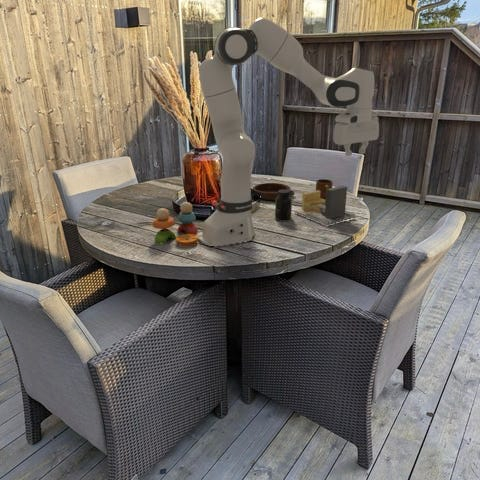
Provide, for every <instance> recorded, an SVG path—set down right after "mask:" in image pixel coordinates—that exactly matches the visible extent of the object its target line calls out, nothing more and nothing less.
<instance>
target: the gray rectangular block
mask: <svg viewBox="0 0 480 480" xmlns="http://www.w3.org/2000/svg"><path fill="white" fill-rule="evenodd" d="M347 193H348V186H346V185H340V186H335V187H332V188H330V189H327V190H326V203H325V204H324V205H325V210H322V211H321V214H322V215H324V216H325V217H327V218H330V219H331V218H335V217H339V216H343V215H345V210H346V205H347V204H346V203H347V196H348V195H347Z"/></svg>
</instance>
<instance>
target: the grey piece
mask: <svg viewBox="0 0 480 480" xmlns="http://www.w3.org/2000/svg"><path fill="white" fill-rule="evenodd" d="M325 202H326V200H324V199H321V198H320V191H319V190H317V191H316V190H313V191H310V192H309V191H308V192H303V193H302V201H301V208H298V209H295V210H294V214H295V213H297V214H300V215H303V216H305V217H308V218H310V219H313V220H315V221H318V222H321V223H323V224H325V225H329V224H333V223H336V222H340V221H343V220H347V219H351V218H355V219H356V214H355V213H354V212H351V211H348V210H346V209H345V215H343V216H339V217H335V218H331V219H330V218H327V217H325V216H324V215H322V214H321V211H322V210H325V205H326V203H325ZM297 214H296V215H297Z"/></svg>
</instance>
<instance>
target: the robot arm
mask: <svg viewBox="0 0 480 480" xmlns="http://www.w3.org/2000/svg"><path fill="white" fill-rule="evenodd" d="M215 38H216V39H215V41H214V46H213V50H212V51H213V52H212V54H211V55H212V56H210V57H208V58H207V57H206V59H204V60H203V61H202V62H201V63H200V64H199V67H198V74H199V82H200V83H199V84H200V87H201V92H202V95H203V98H204V102H205V105H206V108H207V111H208V116H209V118H210V123H211V126H212V131H213V135H214V140H215V143H216V147H217V150H218V152H219V154H220V155H221V156H222V167H221V170H222V171H221V176H220V199H219V202H218V201H216V200H212V202H211V205H212V206H214V207H216V208H217V209H216V210H215V211H214V212H213V213H212V214H211V215H209V217H208V218H206V219H205V220H204V221H203V225H202V232H199V233H198V232H197V233H196V236H197V237H198V239H197V241H199V242H200V243H201V242H202V243H201V244H203V243H204V244H203V245H205V244H206V245H205V246H207V245H209V246H208V247H210V246H215V247H214V248H217V247H216V246H221V247H224V246H223V245H227V246H230V245H229V244H233V245H236V244H235V243H239V244H241V243H240V242H245V241H250V240H252V241H253V238H254V237H255V235H256V231H255V228H254V225H253V218H252V217H253V216H252V209H253V198H252V196H251V191H252V185H251V184H252V182H251V181H252V172H253V167H254V159H255V157H256V147H255V143H254V142H253V140H252V138H250V137H249V135H246V133H245V129H244V124H243V118H242V117H243V115H242V108H241V103H240V101H239V97H238V94H237V89H236V86H235V82H234V79H233V68H234V66H238V65H241V64H243V63H245V62H246V61H248V60H249V59H250V58H251V57H252V56H253V55H254V54H255V55H257V56H259V57H260V58H262V59H264V60H265V61H266V62H268V63H269V64H270V65H271V66H272V67H274V68H276V69H278V70H279V71H282V72H284V73H287V74H289V75H291V76H292V77H295V78H296V79H297V80H299V81H300V82H301V83H302V84H304V85H305V86H306V87H307V88H309V90H310V91H311V92H312V94H313V96H314V98H315V100H316V101H317V102H318V104H320V105H323V106H329V107H333V108H342V107H346V110H345V111H343V112H341V113H340V114H338V115H336V116H335V119H334V120H335V125H334V130H333V142H334V145H338V146H343V149H344V151H345V153H344V154H345V156H346V157H350V156H352V155H353V154H352V153H353V150H351V149H350V147H351V145H352V144H357V143H361V146H360V148H359V149H358V153H359V154H360V155H361V154H363V155H364V154H366V150H367V148H368V145H369V141H375V140H378V138H379V136H380V123H379V117H378V116H377V114H375V113H373V98H374V94H375V73H374V72H373V71H372V70H371V69H369V68H364V67H360V66H359V67H358V66H357V67H356V66H354V67H352V68H351V69H350V70H349V71H347V72H346V73H345V74H342V75H340V76H337V77H333V76H330V75H329V76H328V75H324V74H322V73H321V72H319V71H318V69H316V68H315V67H313V66H312V65H311V64H310V63H309V62H307V60H306V59H305V57H304V49H303V46H302V44H301V43H300V42H299V41H298V40H297V39H296V38H295V37H294V36H293V35H292V34H291V33H290V32H289V31H287V30H286V29H284V28H283V27H281V26H280V25H279V24H277V23H275V22H274V21H272V20H270V19H267V18H265V17H259V18H257V19H255V20H254V21H253V22H252V23H251V24H250V25H249V27H248V28H243V27H241V28H240V27H234V26H233V27H231V26H230V27H228V28H224V29H223V30H221V31H220V33H219V34H218V35H217V36H216V37H215ZM253 236H254V237H253ZM252 237H253V238H252ZM245 243H246V242H245Z"/></svg>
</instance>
